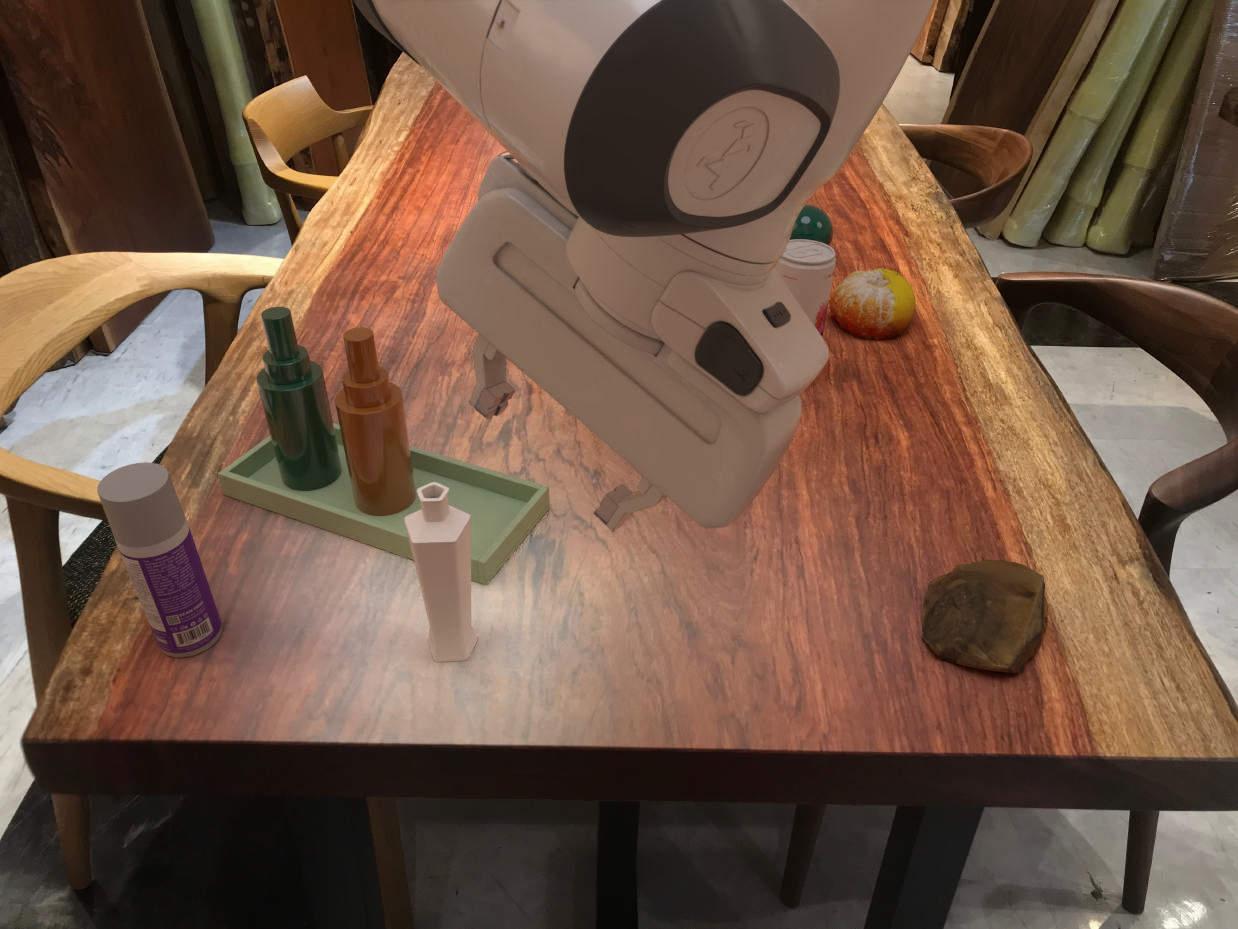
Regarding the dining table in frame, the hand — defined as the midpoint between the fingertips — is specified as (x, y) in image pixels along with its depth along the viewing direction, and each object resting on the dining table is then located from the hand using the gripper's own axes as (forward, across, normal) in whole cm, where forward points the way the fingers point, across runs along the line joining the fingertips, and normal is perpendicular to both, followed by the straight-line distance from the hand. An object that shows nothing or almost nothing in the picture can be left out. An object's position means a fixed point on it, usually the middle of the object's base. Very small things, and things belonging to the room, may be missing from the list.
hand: (545, 463), depth 49 cm
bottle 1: (+33, -25, +16) cm, 44 cm away
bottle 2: (+29, -18, +17) cm, 38 cm away
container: (+34, -17, -3) cm, 38 cm away
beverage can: (+13, 0, +60) cm, 61 cm away
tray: (+30, -18, +17) cm, 39 cm away
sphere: (+12, -13, +91) cm, 92 cm away
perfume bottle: (+25, -1, +7) cm, 26 cm away
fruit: (+9, +2, +77) cm, 77 cm away
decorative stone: (+7, +29, +30) cm, 42 cm away
